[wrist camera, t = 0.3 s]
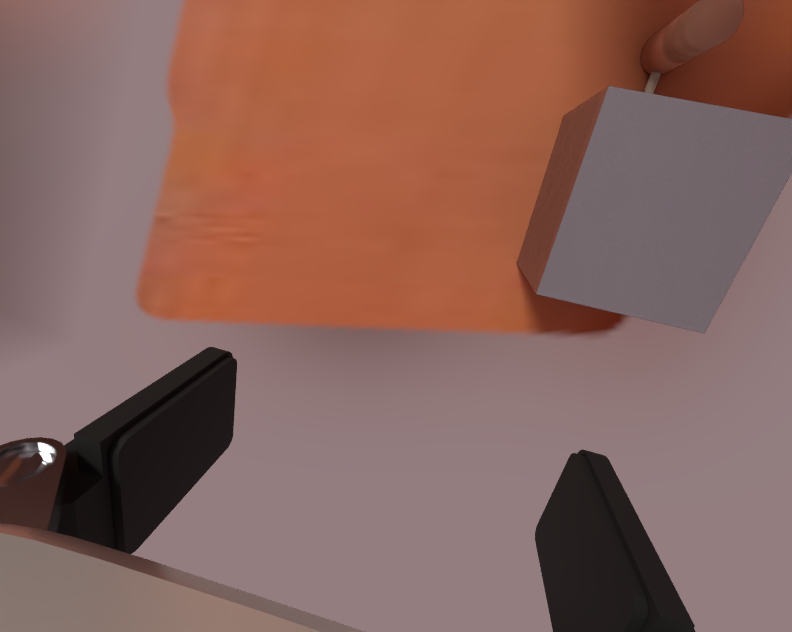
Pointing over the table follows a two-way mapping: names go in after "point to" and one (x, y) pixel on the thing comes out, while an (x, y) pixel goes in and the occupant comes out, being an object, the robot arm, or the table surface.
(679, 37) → the corded block
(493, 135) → the table surface
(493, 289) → the table surface
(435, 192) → the table surface
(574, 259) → the block
